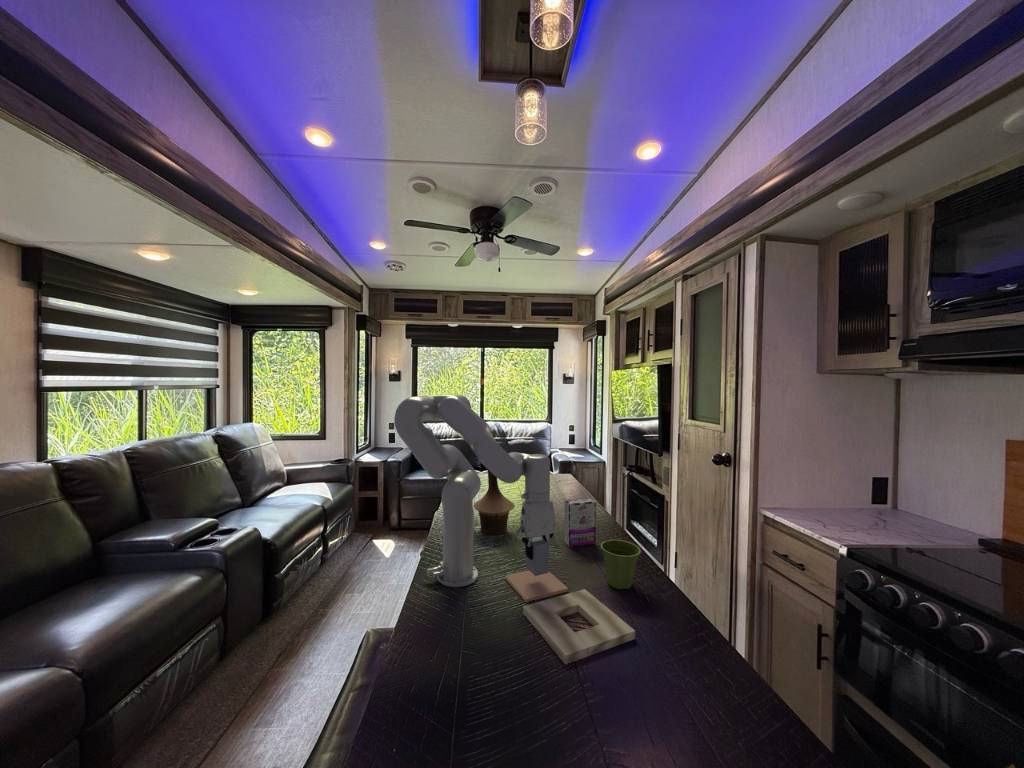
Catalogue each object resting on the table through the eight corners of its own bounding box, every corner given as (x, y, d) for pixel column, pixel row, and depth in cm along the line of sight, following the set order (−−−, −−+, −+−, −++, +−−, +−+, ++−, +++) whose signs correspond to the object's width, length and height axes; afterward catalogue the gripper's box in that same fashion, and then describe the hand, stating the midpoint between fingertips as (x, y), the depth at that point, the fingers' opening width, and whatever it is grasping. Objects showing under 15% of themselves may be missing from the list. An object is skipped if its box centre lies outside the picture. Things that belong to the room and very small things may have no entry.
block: (535, 576, 112) (535, 545, 112) (525, 567, 117) (525, 537, 117) (548, 572, 114) (548, 542, 114) (538, 564, 119) (538, 535, 119)
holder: (565, 664, 83) (565, 655, 83) (523, 613, 101) (523, 606, 101) (634, 638, 92) (635, 630, 92) (584, 596, 110) (584, 589, 110)
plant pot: (642, 597, 110) (643, 558, 110) (600, 591, 112) (601, 553, 112) (637, 576, 122) (638, 541, 121) (599, 572, 124) (600, 537, 124)
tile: (526, 602, 106) (526, 599, 106) (504, 578, 119) (504, 575, 119) (568, 591, 112) (568, 588, 112) (543, 569, 125) (543, 566, 125)
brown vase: (468, 524, 162) (469, 459, 162) (505, 520, 168) (506, 457, 168) (479, 541, 146) (480, 468, 146) (520, 535, 152) (521, 465, 152)
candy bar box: (589, 539, 150) (590, 497, 149) (595, 544, 145) (596, 501, 145) (563, 542, 147) (564, 499, 146) (568, 547, 142) (569, 503, 142)
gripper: (518, 503, 108) (517, 567, 108) (567, 495, 115) (567, 555, 116) (506, 496, 115) (506, 556, 115) (554, 489, 122) (554, 546, 122)
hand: (537, 555), depth 115 cm, fingers closed on block, 4 cm apart
